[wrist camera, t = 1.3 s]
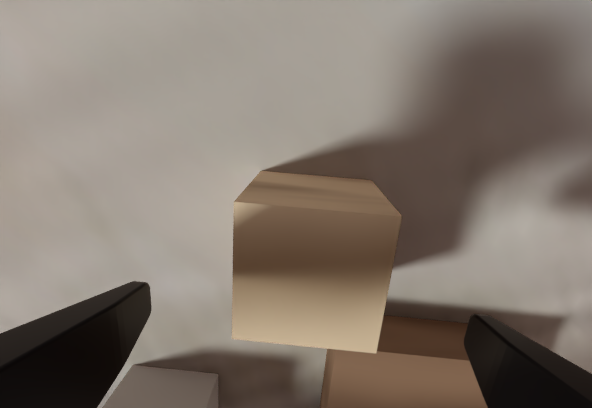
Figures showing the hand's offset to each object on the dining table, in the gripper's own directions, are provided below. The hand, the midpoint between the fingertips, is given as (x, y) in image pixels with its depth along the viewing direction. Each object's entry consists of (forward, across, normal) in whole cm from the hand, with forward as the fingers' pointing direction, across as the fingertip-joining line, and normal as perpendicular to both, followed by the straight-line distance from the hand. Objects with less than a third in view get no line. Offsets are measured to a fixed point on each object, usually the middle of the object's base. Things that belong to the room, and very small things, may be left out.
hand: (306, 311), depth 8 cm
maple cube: (+6, 0, 0) cm, 6 cm away
